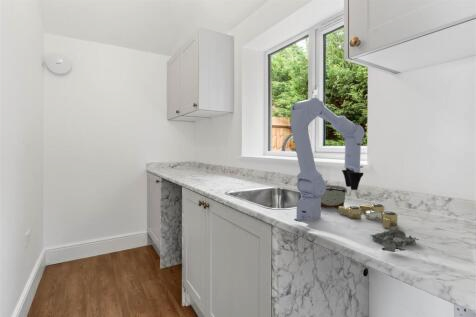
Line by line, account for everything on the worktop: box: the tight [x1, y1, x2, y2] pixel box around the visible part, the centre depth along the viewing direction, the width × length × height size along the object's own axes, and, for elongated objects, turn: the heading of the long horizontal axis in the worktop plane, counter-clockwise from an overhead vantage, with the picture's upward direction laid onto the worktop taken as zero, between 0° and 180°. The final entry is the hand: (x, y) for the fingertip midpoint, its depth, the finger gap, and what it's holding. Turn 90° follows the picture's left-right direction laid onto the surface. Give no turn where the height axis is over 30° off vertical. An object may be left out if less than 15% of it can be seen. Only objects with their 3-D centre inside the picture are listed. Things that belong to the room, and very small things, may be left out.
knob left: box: [337, 205, 362, 220], centre depth 94 cm, size 8×4×4 cm, turn 29°
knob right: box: [381, 210, 399, 229], centre depth 83 cm, size 8×4×4 cm, turn 139°
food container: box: [321, 184, 348, 210], centre depth 109 cm, size 12×6×10 cm, turn 74°
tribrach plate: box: [365, 211, 382, 222], centre depth 91 cm, size 24×24×4 cm
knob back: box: [359, 203, 385, 218], centre depth 97 cm, size 8×4×4 cm, turn 49°
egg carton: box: [370, 226, 420, 253], centre depth 69 cm, size 11×8×4 cm
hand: (351, 188), depth 102 cm, fingers open, 7 cm apart
